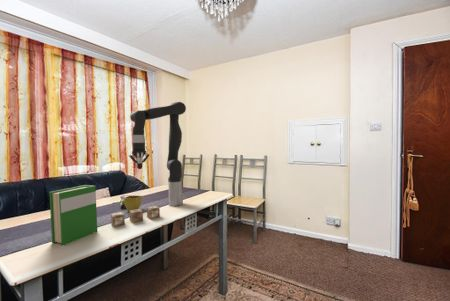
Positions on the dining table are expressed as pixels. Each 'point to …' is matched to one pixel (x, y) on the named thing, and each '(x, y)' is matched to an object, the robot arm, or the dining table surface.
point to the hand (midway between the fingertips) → (139, 169)
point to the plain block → (136, 215)
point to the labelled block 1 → (117, 219)
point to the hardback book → (73, 213)
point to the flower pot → (132, 202)
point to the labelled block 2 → (153, 212)
